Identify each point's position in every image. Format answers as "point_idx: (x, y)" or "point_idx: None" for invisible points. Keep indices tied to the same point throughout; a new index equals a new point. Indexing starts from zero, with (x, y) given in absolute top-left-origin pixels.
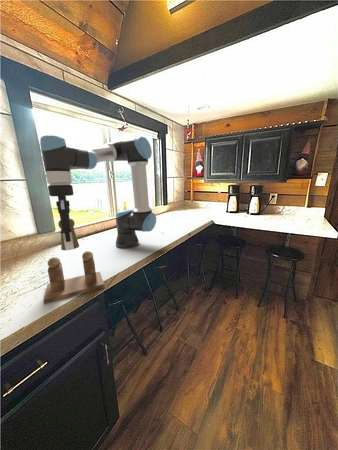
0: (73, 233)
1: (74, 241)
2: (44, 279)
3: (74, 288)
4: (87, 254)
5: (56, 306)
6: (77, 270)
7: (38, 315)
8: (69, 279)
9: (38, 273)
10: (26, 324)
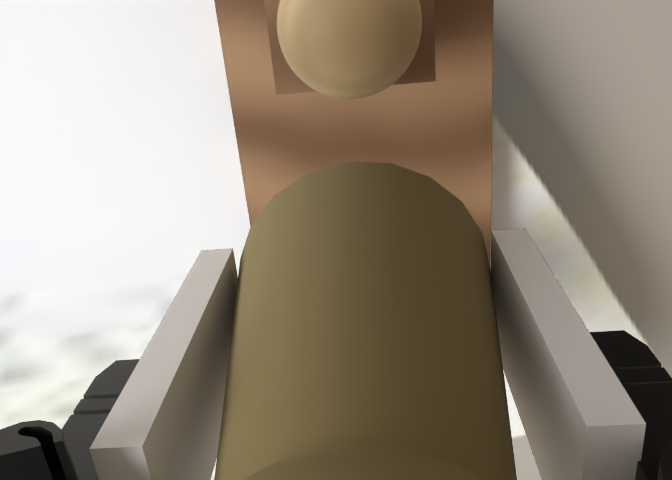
0: (456, 347)
1: (466, 260)
2: (135, 348)
3: (438, 135)
4: (408, 25)
5: (557, 225)
6: (41, 133)
7: (593, 302)
8: (259, 185)
9: (18, 399)
10: (641, 338)
